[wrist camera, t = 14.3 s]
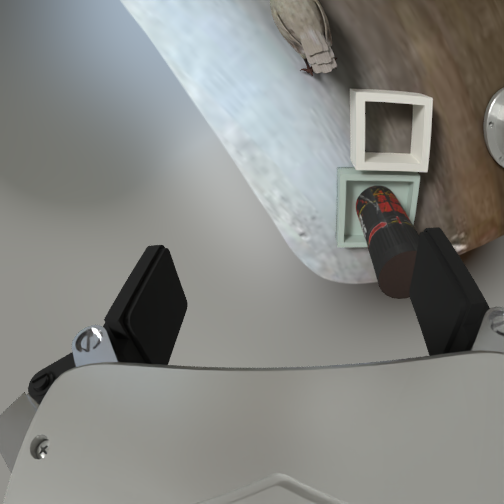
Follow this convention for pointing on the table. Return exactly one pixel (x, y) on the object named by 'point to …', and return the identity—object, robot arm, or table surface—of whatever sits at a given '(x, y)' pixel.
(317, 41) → the decorative bird
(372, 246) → the deodorant
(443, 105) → the table surface
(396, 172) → the tray
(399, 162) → the holder
